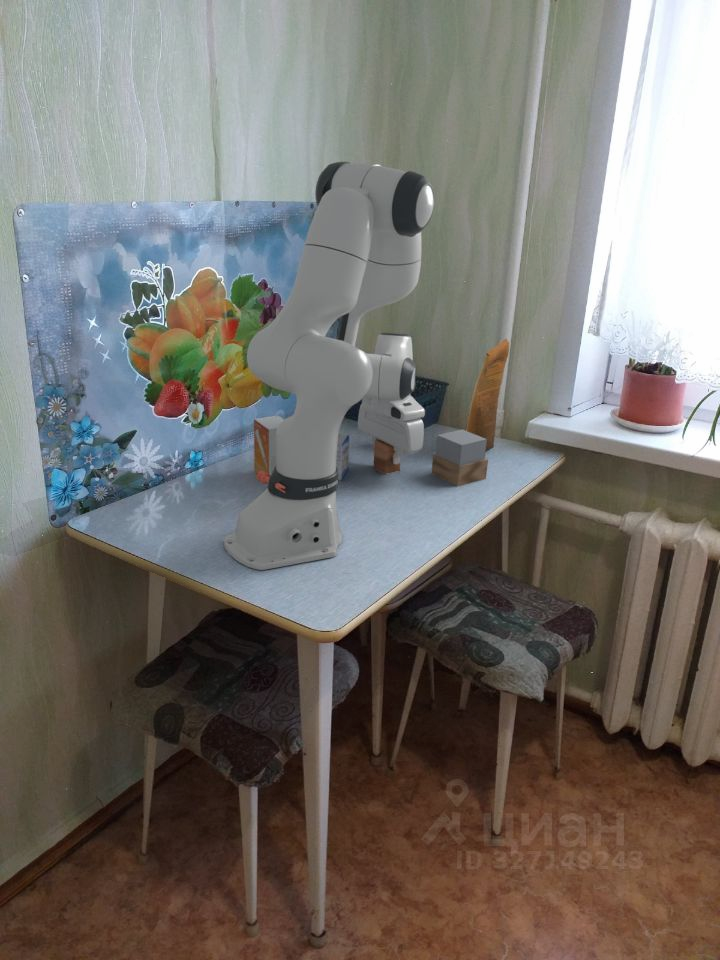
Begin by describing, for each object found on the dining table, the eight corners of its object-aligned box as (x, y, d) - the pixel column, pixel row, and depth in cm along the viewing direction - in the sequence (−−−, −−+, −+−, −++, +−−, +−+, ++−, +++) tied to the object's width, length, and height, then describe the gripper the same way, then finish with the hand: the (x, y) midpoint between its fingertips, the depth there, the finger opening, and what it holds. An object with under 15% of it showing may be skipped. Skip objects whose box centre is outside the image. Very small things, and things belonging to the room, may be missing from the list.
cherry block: (385, 474, 177) (386, 446, 174) (373, 468, 180) (374, 440, 178) (400, 470, 180) (401, 442, 177) (388, 464, 183) (389, 437, 180)
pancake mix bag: (506, 444, 201) (519, 338, 190) (475, 464, 186) (487, 351, 175) (483, 438, 204) (494, 334, 194) (451, 458, 189) (461, 346, 179)
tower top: (459, 466, 171) (461, 445, 169) (435, 455, 177) (437, 435, 175) (484, 459, 176) (486, 439, 174) (460, 449, 181) (462, 429, 179)
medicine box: (341, 481, 172) (342, 445, 169) (321, 478, 173) (322, 443, 170) (348, 469, 179) (349, 434, 176) (330, 466, 180) (331, 432, 177)
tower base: (457, 487, 172) (459, 466, 171) (431, 474, 179) (433, 454, 177) (485, 479, 177) (488, 459, 176) (459, 467, 184) (461, 448, 182)
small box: (253, 472, 175) (253, 418, 170) (278, 468, 178) (278, 415, 173) (268, 484, 168) (268, 428, 164) (294, 480, 172) (294, 425, 167)
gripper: (352, 393, 180) (350, 448, 185) (408, 416, 165) (404, 475, 170) (373, 390, 183) (370, 444, 188) (430, 412, 168) (425, 470, 173)
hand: (387, 459), depth 179 cm, fingers closed on cherry block, 4 cm apart
